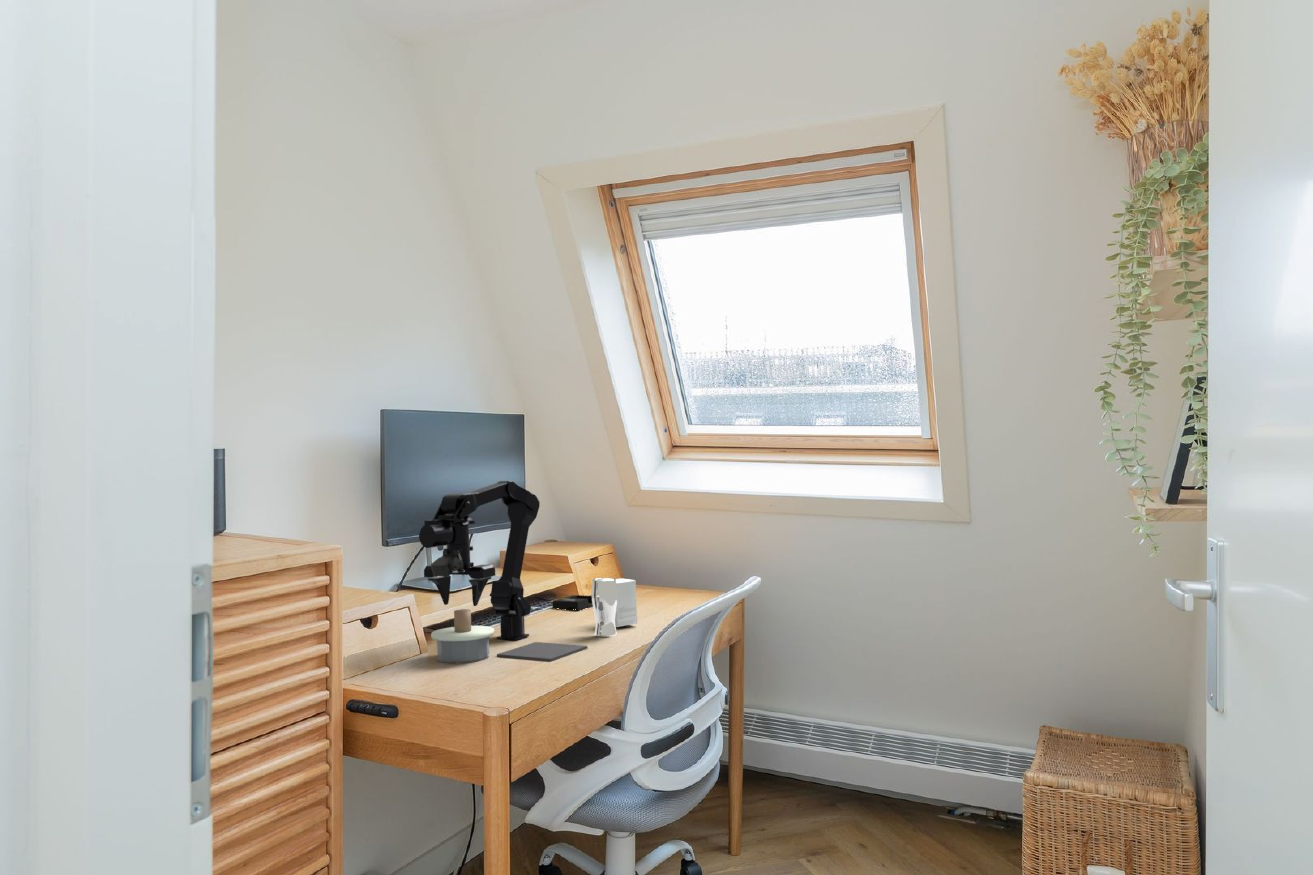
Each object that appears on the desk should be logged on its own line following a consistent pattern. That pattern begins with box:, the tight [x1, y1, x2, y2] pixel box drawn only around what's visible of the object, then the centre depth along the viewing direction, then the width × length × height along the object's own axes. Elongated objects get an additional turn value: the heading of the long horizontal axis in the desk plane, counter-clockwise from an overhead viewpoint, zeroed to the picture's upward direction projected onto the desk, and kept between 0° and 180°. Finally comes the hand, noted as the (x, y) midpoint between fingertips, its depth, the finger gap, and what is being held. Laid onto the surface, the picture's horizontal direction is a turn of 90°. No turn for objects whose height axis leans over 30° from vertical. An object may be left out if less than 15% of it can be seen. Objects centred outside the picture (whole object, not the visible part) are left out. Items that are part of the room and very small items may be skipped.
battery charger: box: [551, 594, 593, 612], centre depth 292 cm, size 13×10×4 cm
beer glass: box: [591, 577, 618, 638], centre depth 246 cm, size 7×7×15 cm
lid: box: [430, 608, 495, 641], centre depth 222 cm, size 15×15×6 cm
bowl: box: [436, 636, 490, 664], centre depth 221 cm, size 12×12×6 cm
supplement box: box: [615, 578, 638, 628], centre depth 262 cm, size 7×7×13 cm
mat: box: [496, 641, 588, 662], centre depth 225 cm, size 16×16×1 cm
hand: (460, 605), depth 230 cm, fingers open, 9 cm apart
